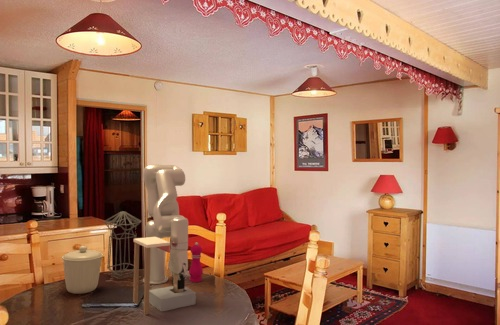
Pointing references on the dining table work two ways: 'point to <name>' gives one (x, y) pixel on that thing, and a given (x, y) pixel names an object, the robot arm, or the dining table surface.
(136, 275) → the small side table
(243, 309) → the dining table surface
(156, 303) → the socket block
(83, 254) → the canister
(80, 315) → the dining table surface
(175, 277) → the peg
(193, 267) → the pepper mill
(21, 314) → the dining table surface
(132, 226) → the geometric lantern
